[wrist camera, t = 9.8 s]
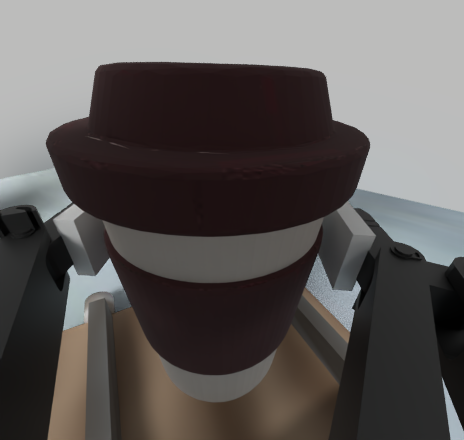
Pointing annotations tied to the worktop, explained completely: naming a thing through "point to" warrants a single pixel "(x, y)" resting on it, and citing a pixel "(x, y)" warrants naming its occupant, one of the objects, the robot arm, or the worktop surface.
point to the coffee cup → (210, 204)
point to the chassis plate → (179, 403)
